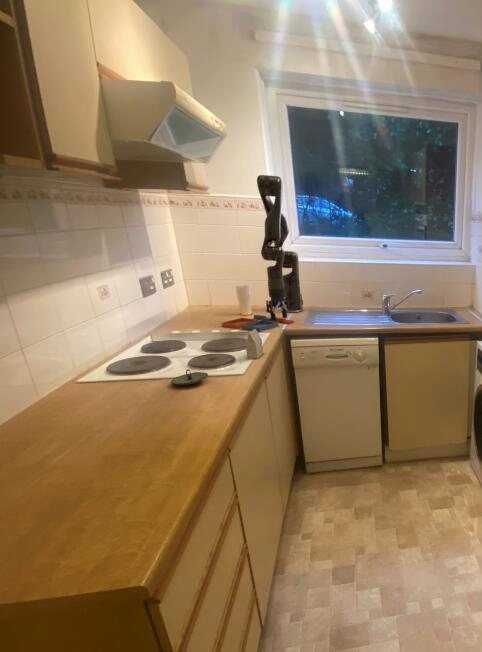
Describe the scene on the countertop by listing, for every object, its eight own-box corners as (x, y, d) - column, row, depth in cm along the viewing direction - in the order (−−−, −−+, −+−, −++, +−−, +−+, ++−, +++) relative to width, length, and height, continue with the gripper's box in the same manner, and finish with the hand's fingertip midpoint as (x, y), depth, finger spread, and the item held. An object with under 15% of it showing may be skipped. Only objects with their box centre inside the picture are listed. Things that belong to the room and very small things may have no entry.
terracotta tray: (242, 321, 221) (242, 317, 221) (258, 323, 219) (258, 319, 218) (222, 326, 209) (221, 322, 209) (238, 328, 207) (238, 324, 206)
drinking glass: (239, 313, 238) (235, 285, 232) (253, 312, 241) (249, 285, 235) (239, 315, 232) (235, 287, 227) (253, 315, 235) (249, 287, 230)
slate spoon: (252, 319, 227) (252, 315, 226) (257, 317, 230) (257, 314, 229) (269, 321, 224) (269, 317, 223) (274, 320, 227) (273, 316, 226)
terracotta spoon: (272, 321, 224) (271, 317, 223) (276, 320, 227) (276, 316, 226) (289, 324, 221) (289, 320, 220) (293, 322, 224) (293, 318, 223)
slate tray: (262, 323, 218) (261, 320, 217) (278, 326, 216) (278, 322, 215) (242, 329, 206) (242, 325, 206) (259, 331, 204) (259, 327, 203)
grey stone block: (263, 353, 173) (260, 329, 170) (257, 358, 167) (254, 333, 163) (253, 353, 173) (250, 328, 169) (247, 358, 166) (244, 332, 163)
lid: (210, 389, 140) (212, 374, 139) (174, 388, 133) (175, 372, 132) (202, 381, 147) (204, 367, 146) (167, 379, 140) (169, 364, 139)
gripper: (272, 289, 211) (276, 322, 216) (291, 286, 223) (294, 317, 229) (260, 288, 212) (263, 321, 218) (279, 285, 225) (282, 316, 231)
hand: (279, 319), depth 224 cm, fingers open, 8 cm apart
